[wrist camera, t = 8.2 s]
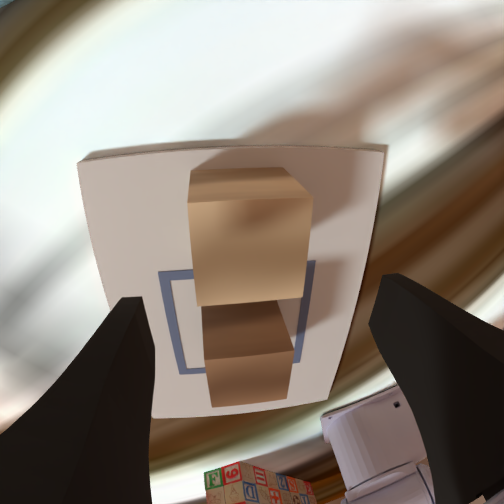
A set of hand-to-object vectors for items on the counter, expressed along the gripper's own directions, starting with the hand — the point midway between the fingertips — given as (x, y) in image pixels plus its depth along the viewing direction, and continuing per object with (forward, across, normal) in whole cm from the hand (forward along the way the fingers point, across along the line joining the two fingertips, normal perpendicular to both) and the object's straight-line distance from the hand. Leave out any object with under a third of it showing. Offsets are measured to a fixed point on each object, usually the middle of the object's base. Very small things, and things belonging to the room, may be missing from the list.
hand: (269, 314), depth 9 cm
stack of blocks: (+9, -3, +43) cm, 44 cm away
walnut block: (+8, 0, +8) cm, 11 cm away
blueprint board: (+8, 0, +8) cm, 12 cm away
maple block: (+8, 0, 0) cm, 8 cm away
